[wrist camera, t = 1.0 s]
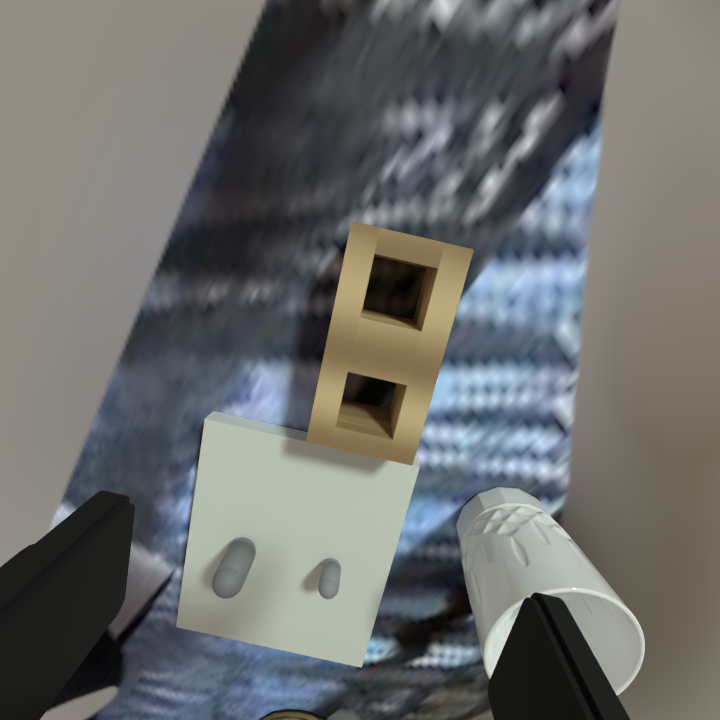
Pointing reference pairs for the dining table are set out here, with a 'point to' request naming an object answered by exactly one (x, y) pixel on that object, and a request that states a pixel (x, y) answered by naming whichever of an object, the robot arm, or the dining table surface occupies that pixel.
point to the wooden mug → (293, 715)
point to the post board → (290, 540)
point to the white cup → (539, 581)
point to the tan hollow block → (386, 345)
